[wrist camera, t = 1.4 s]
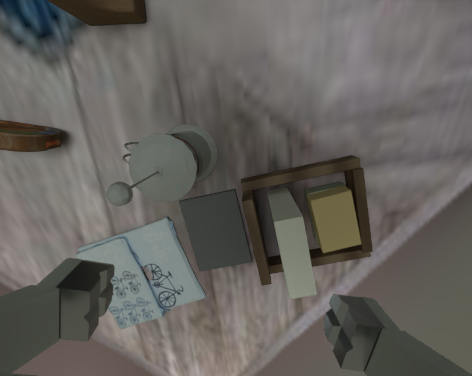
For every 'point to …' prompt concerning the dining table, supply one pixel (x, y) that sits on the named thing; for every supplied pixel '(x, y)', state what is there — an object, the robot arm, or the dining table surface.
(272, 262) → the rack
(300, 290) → the pale grey rectangular block
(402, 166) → the dining table surface
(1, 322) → the robot arm
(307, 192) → the offcut lower
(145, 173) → the french press
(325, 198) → the offcut upper
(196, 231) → the pad
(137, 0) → the wooden block
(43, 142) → the tin
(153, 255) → the light flat printed piece
